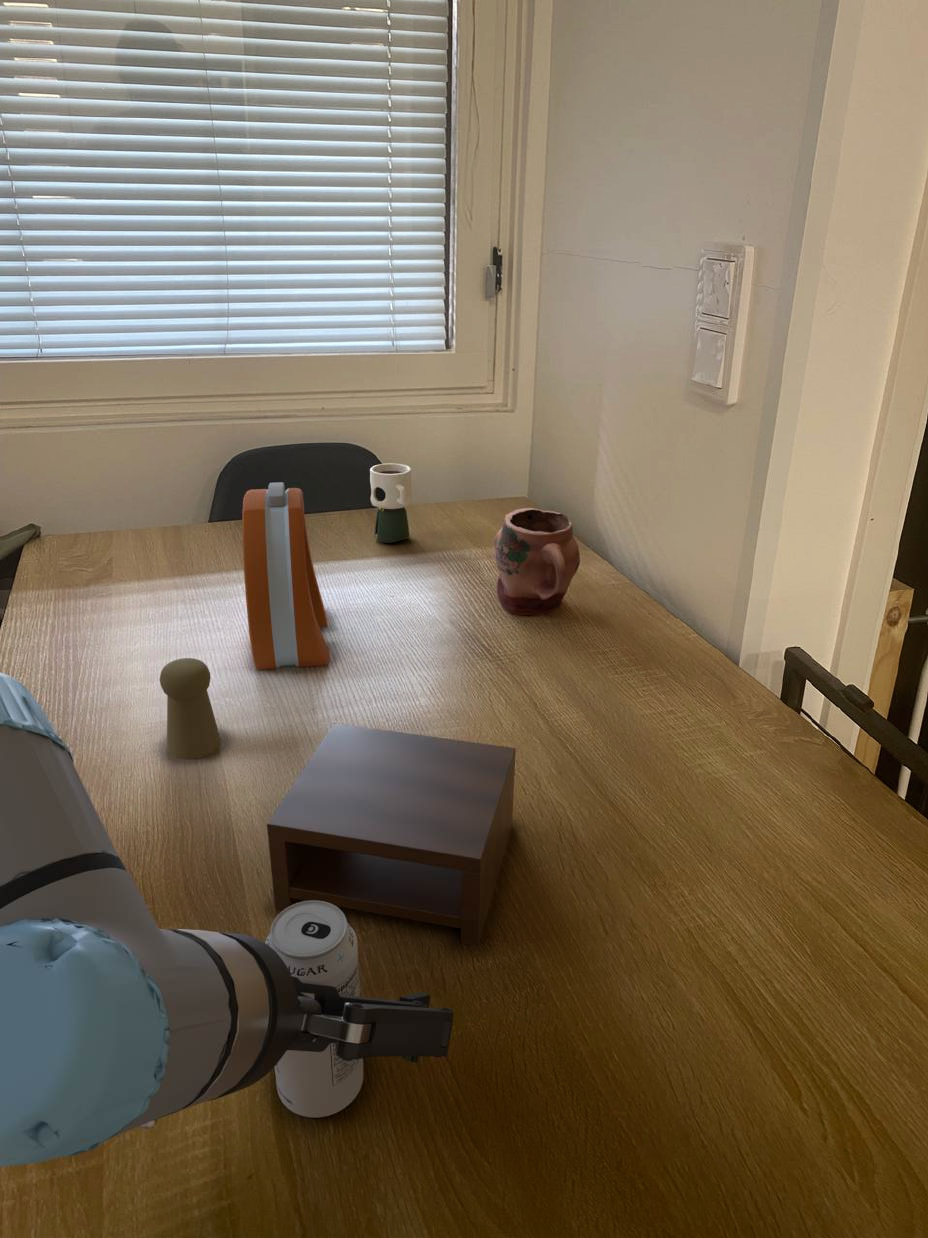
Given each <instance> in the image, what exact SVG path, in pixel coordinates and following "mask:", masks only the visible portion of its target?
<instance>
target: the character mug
mask: <svg viewBox="0 0 928 1238" xmlns="http://www.w3.org/2000/svg"><path fill="white" fill-rule="evenodd" d="M369 483H370V494H371V495H370V503H371V506H373V507H376V508H377V510H376V515H375V516H376V517H375V526H374V536H373V537H374V538H375V539H376V540H377V541H378V542H380V543H381V542H382V543H397V542H399V541H403V540H407V539H408V538H410V527H409V520H408V514H407V510H406V508H405V507H407V506H410V505H411V503H412V500H413V499H412V498H413V497H412V468H411V467H410V466H409V465H406V464H402V463H395V462H394V463H391V462H390V463H380V464H376V465H373V466H371V467H370V469H369Z"/></svg>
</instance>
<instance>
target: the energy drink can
mask: <svg viewBox="0 0 928 1238" xmlns="http://www.w3.org/2000/svg"><path fill="white" fill-rule="evenodd" d="M347 920H348V919H347V918H346V915H345V913H344V912H343V911H342V910H341V909H340V907H339V906H335V905H333V904H331V903H328V902H324V901H315V900H310V901H305V900H302V901H300V902H296V904H294V905H291V906H289V907H288V908H286V909H284V910H283V911H282V910H281V911H280V913H278V914H277V916H276V917H275V918H274V919H273V921H272V922H271V926H270V930H269V935H268V936H267V938H266V940H265V942H264V943H266V944H267V945H268V946H270V947H271V948H272V949H273V950H274V951H275V952H276V953H277V954H278V955H279V956H280V957H281V958H282V960H283V961H284V963H285V964H286V966H287V968H288V970H289V972H290V974H291V976H294V977H297V978H298V979H299V980H302V981H310V982H319V983H324V984H327V985H330V986H333V987H336V989H337V990H338V993H339V994H341V995H350V996H359V997H361V989H360V988H361V986H360V968H359V944H358V938H357V934H356V932H355V930H354V929H353V928H352V926H351V925H350V924H349V922H348V921H347ZM300 993H301V992H300ZM302 994H304V995H306V996H308V997H310V998H312V999H314V994H310V993H302ZM335 1048H336V1043H331V1044H329V1045H328V1047H327V1048H326V1049H325V1050H324V1051H323V1052H309V1051H294V1050H287V1051H286V1052H285V1054H284V1055H283V1056H282V1058H281V1059H280V1060H279V1062H278V1063H277V1064H276V1065H275V1066H274V1072H275V1073H274V1075H275V1084H276V1090H277V1094H278V1097H279V1099H280V1101H281V1103H282V1104H283V1105H284V1106H285V1107H286V1108H287V1109H288V1110H289V1111H291V1112H292V1113H294V1114H296V1115H299V1116H301V1117H304V1118H305V1117H306V1118H316V1119H317V1118H323V1117H324V1118H325V1117H329V1116H331V1115H334V1114H337V1113H338V1112H341V1111H342V1110H344V1109H345V1108H346V1107H348V1106H349V1105H350V1104H351V1103H352V1102H353V1101H354V1100H355V1099H356V1097H357V1096H358V1094H359V1093H360V1091H361V1088H362V1086H363V1082H364V1058H362V1059H357V1060H354V1059H353V1060H352V1061H346V1060H342V1058H339V1057H338V1056H336V1051H335Z"/></svg>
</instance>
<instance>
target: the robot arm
mask: <svg viewBox="0 0 928 1238" xmlns="http://www.w3.org/2000/svg"><path fill="white" fill-rule="evenodd" d="M300 992H301V993H300ZM302 993H310V994H314V999H312V998H310V997H308V996H306V995H304V994H302ZM430 1001H431V994H429V993H423V992H417V993H411V994H408V995H402V996H399V999H398V1000H395V999H394V1000H393V999H385V998H378V997H377V998H375V997H367V996H360V997H359V996H350V995H341V994H339V993H338V990H337V989H336V987H333V986H330V985H327V984H324V983H319V982H310V981H302V980H299V979H298V978H297V977H294V976H291V974H290V972H289V970H288V968H287V966H286V964H285V963H284V961H283V960H282V958H281V957H280V956H279V955H278V954H277V953H276V952H275V951H274V950H273V949H272V948H271V947H270V946H268V945H267V944H266V943H265V942H264V941H262V940H261V939H259V938H256V937H255V936H251V935H249V934H243V933H237V932H236V933H235V932H222V931H221V932H217V931H210V930H205V929H204V930H203V929H187V928H186V929H185V928H167V929H166V928H165V929H164V928H159V927H158V925H157V923H156V921H155V919H154V917H153V915H152V913H151V911H150V909H149V907H148V906H147V904H146V902H145V900H144V898H143V896H142V894H141V892H140V890H139V887H137V884H136V882H135V880H134V879H133V877H132V874H131V873H130V872H129V871H128V870H127V869H126V866H125V864H124V862H123V861H122V859H121V858H120V856H119V854H118V852H117V850H116V848H115V846H114V844H113V842H112V840H111V838H110V836H109V834H108V831H107V829H106V828H105V826H104V824H103V821H102V819H101V817H100V815H99V813H98V812H97V809H96V807H95V805H94V803H93V801H92V799H91V797H90V794H89V793H88V791H87V789H86V787H85V784H84V783H83V780H82V779H81V776H80V775H79V773H78V769H76V766H75V765H74V759H73V755H72V753H71V751H70V748H69V747H68V746H67V745H66V743H64V742H63V740H62V738H60V737H59V735H58V733H57V731H56V730H55V728H54V726H53V724H52V723H51V721H50V720H49V718H48V716H47V715H46V713H45V711H44V710H43V707H42V706H41V705H40V703H38V701H37V700H36V699H35V697H34V695H33V694H32V693H31V691H30V689H28V688H27V687H26V686H25V685H24V684H23V683H22V682H21V681H19V680H18V679H16V678H14V677H12V676H10V675H8V674H6V673H3V672H0V1168H8V1167H9V1168H10V1167H15V1166H16V1167H17V1166H21V1165H28V1164H38V1163H42V1162H46V1161H49V1160H54V1159H57V1158H70V1157H73V1156H77V1155H80V1154H83V1153H87V1152H90V1151H92V1150H95V1149H97V1148H98V1147H100V1146H101V1145H103V1144H104V1143H105V1142H106V1141H108V1140H110V1139H112V1138H115V1137H118V1136H119V1135H122V1134H124V1133H126V1132H129V1131H131V1130H134V1129H137V1128H142V1129H146V1130H148V1129H151V1128H152V1127H154V1126H155V1125H157V1122H158V1120H159V1119H161V1118H164V1117H167V1116H170V1115H173V1114H176V1113H179V1112H182V1111H184V1110H187V1109H190V1108H192V1107H195V1106H198V1105H200V1104H203V1103H206V1102H211V1101H213V1100H214V1101H215V1100H217V1099H220V1098H224V1097H227V1096H229V1095H231V1094H234V1093H237V1092H239V1091H242V1090H244V1089H247V1088H249V1087H251V1086H253V1085H255V1084H256V1083H258V1082H259V1081H260V1080H262V1079H263V1078H264V1077H266V1076H267V1075H268V1074H269V1073H270V1072H271V1071H272V1070H273V1069H275V1065H276V1064H277V1063H278V1062H279V1060H280V1059H281V1058H282V1056H283V1055H284V1054H285V1052H286V1051H287V1050H294V1051H309V1052H323V1051H324V1050H325V1049H326V1048H327V1047H328V1045H329V1044H331V1043H336V1048H335V1051H336V1056H338V1057H339V1058H342V1060H346V1061H352V1060H353V1059H354V1060H357V1059H362V1058H363V1059H366V1058H370V1057H371V1058H375V1057H377V1058H379V1057H380V1058H382V1057H386V1058H387V1057H395V1058H396V1057H401V1059H403V1060H404V1061H408V1062H411V1063H413V1064H417V1063H418V1062H419V1057H434V1058H437V1059H440V1058H442V1057H448V1053H449V1048H450V1041H451V1035H452V1029H453V1023H454V1016H455V1011H454V1010H453V1009H450V1008H449V1007H445V1006H440V1007H438V1008H437V1007H430Z"/></svg>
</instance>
